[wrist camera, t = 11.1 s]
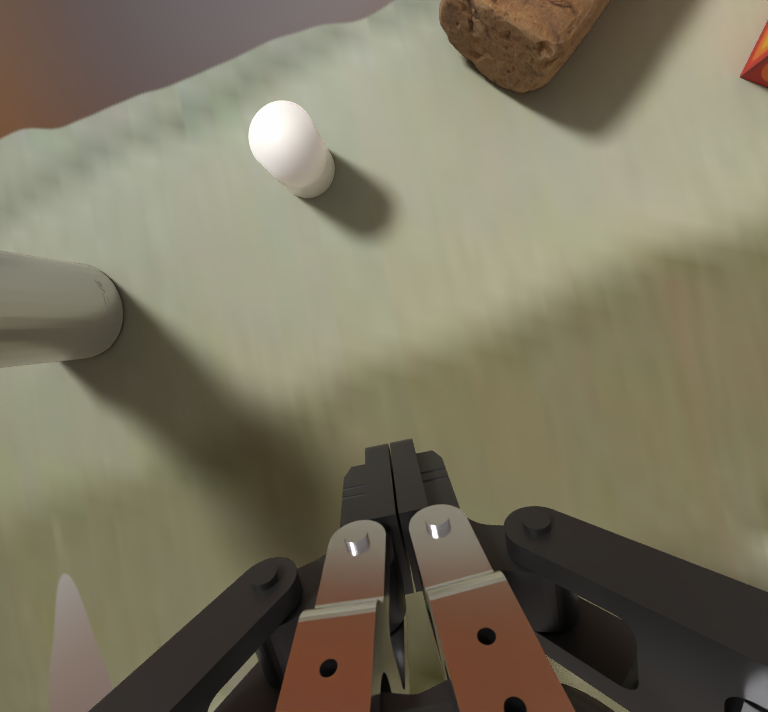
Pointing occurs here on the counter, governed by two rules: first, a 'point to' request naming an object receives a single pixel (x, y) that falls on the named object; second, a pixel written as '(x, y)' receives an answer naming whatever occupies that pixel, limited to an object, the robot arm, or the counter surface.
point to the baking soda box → (758, 61)
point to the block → (518, 36)
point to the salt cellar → (291, 149)
